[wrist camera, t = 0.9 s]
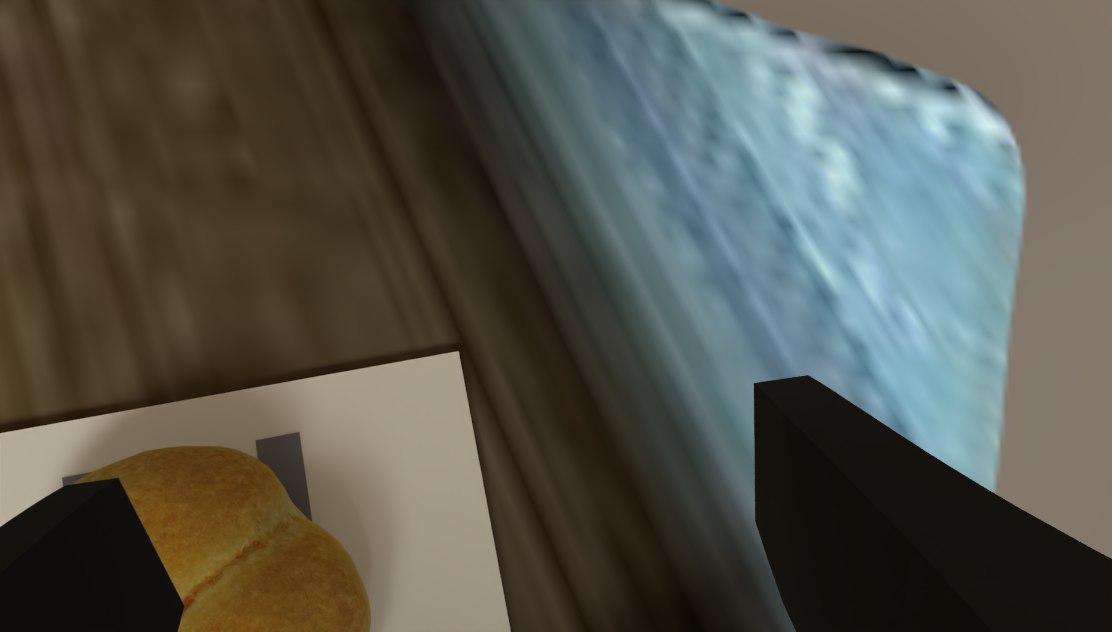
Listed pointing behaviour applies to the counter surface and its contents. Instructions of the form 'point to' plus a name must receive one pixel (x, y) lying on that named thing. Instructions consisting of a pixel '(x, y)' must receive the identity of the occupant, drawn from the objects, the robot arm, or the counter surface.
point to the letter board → (327, 477)
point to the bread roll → (239, 544)
